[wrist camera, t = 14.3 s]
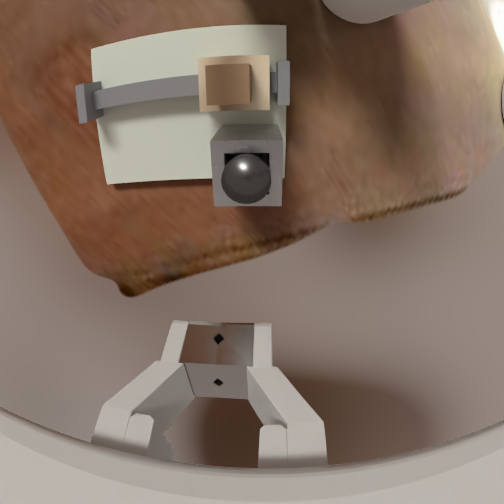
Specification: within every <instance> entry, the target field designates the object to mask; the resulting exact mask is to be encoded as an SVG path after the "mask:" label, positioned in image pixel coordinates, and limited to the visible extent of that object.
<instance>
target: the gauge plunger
mask: <svg viewBox="0 0 504 504" xmlns="http://www.w3.org/2000/svg"><path fill="white" fill-rule="evenodd" d="M221 185H222V188H223V190H224V192H225V194H226V195H227V196H228V197H229V198H230V199H232V200H233V201H235V202H238V203H242V204H252V203H255V202H258V201H260V200H261V199H263V198H264V197H265V196H266V195H267V193H268V192H269V190H270V187H271V172H270V169H269V167H268V165H267V163H266V162H265V161H264V160H263V153H237V155H236V156H235V157H233V158H232V159H230V160H229V161H228V163H227V164H226V165H225V167H224V170H223V173H222V176H221Z"/></svg>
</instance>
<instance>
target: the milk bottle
mask: <svg viewBox="0 0 504 504" xmlns="http://www.w3.org/2000/svg"><path fill="white" fill-rule="evenodd" d="M322 1H323V3H324V4H325V5H326V7H327V8H328V9H329V10H330V11H331V12H333V13H334V14H335V15H337V16H338V17H340V18H342V19H344V20H346V21H349V22H353V23H358V24H368V23H373V22H376V21H379V20H382V19H385V18H388V17H390V16H393V15H396V14H399V13H402V12H404V11H407V10H410V9H413V8H416V7H419V6H421V5H424V4H426V3H429V2H431V1H432V0H322Z"/></svg>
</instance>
